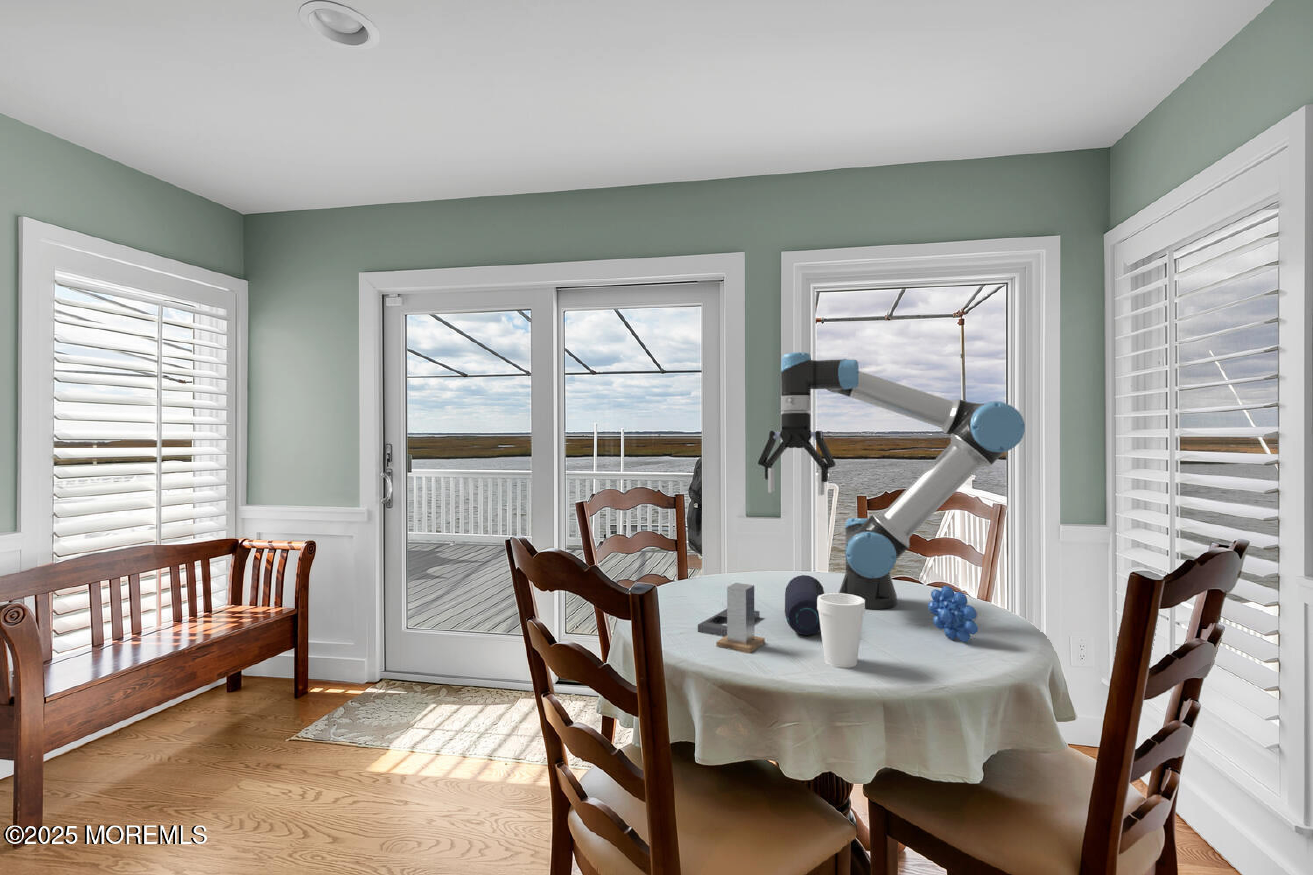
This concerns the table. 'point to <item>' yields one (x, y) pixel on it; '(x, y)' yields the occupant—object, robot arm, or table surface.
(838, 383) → the robot arm
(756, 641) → the pad
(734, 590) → the tall grey prism
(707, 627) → the dark grey slotted board
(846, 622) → the foam cup
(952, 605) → the grapes
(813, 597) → the portable speaker
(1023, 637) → the table surface
